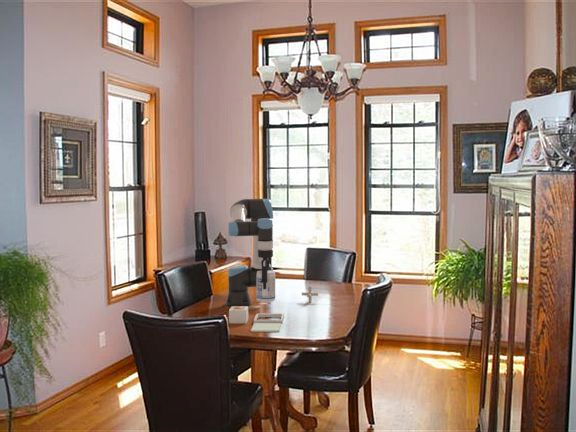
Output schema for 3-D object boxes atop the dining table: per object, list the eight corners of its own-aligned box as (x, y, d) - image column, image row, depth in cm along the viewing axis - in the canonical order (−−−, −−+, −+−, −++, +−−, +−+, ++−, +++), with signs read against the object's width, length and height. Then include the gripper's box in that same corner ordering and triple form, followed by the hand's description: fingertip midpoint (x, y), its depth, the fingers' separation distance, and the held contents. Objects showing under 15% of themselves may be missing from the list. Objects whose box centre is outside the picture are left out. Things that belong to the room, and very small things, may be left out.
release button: (235, 315, 307) (235, 306, 306) (243, 315, 306) (243, 306, 306) (233, 317, 302) (233, 308, 302) (242, 317, 302) (242, 308, 301)
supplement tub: (255, 302, 284) (255, 273, 283) (257, 298, 293) (256, 270, 292) (275, 302, 284) (275, 273, 283) (275, 298, 293) (275, 269, 292)
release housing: (231, 319, 309) (231, 306, 309) (248, 319, 309) (248, 306, 308) (229, 323, 300) (228, 310, 300) (246, 323, 300) (246, 310, 299)
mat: (254, 324, 297) (254, 323, 297) (281, 324, 296) (281, 323, 296) (250, 331, 283) (250, 330, 283) (279, 332, 282) (279, 330, 282)
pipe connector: (316, 304, 343) (316, 287, 342) (300, 303, 345) (300, 287, 344) (319, 300, 353) (319, 284, 352) (303, 300, 355) (303, 284, 354)
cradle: (256, 317, 313) (256, 313, 313) (284, 317, 312) (284, 313, 312) (253, 323, 298) (253, 320, 298) (282, 324, 298) (282, 320, 297)
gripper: (260, 246, 298) (260, 289, 299) (255, 252, 276) (256, 297, 277) (274, 246, 298) (275, 289, 299) (270, 252, 276) (271, 298, 277)
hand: (265, 293), depth 288 cm, fingers closed on supplement tub, 9 cm apart
